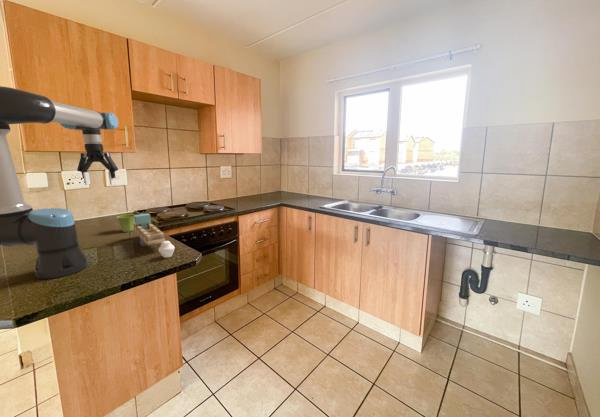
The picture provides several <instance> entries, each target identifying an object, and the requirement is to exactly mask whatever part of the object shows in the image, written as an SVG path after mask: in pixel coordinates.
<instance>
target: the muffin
mask: <svg viewBox="0 0 600 417" xmlns="http://www.w3.org/2000/svg"><path fill="white" fill-rule="evenodd" d="M160 244H161V245H160V246H159V248H158V252H159V254H161V256H162V257H163V258H165V259H167V258H170V257H172V256H173V253H174V252H175V246H174V244H172V243H171V241H169V240H165V241H164V242H162V243H160Z"/></svg>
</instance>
